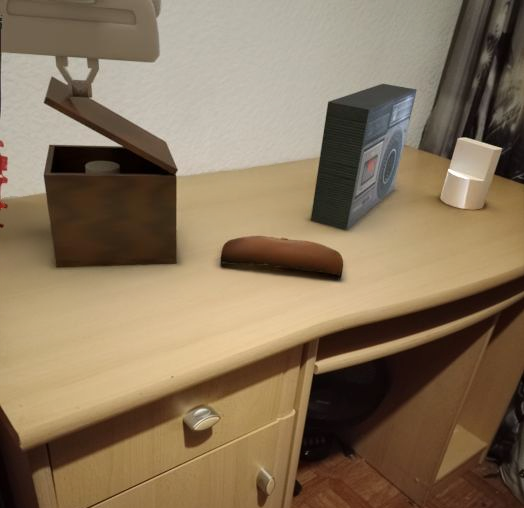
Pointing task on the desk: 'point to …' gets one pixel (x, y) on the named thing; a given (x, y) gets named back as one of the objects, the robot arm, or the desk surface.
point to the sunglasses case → (282, 254)
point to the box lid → (110, 125)
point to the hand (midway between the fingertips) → (80, 96)
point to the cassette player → (360, 153)
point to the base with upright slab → (470, 174)
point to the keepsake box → (109, 208)
